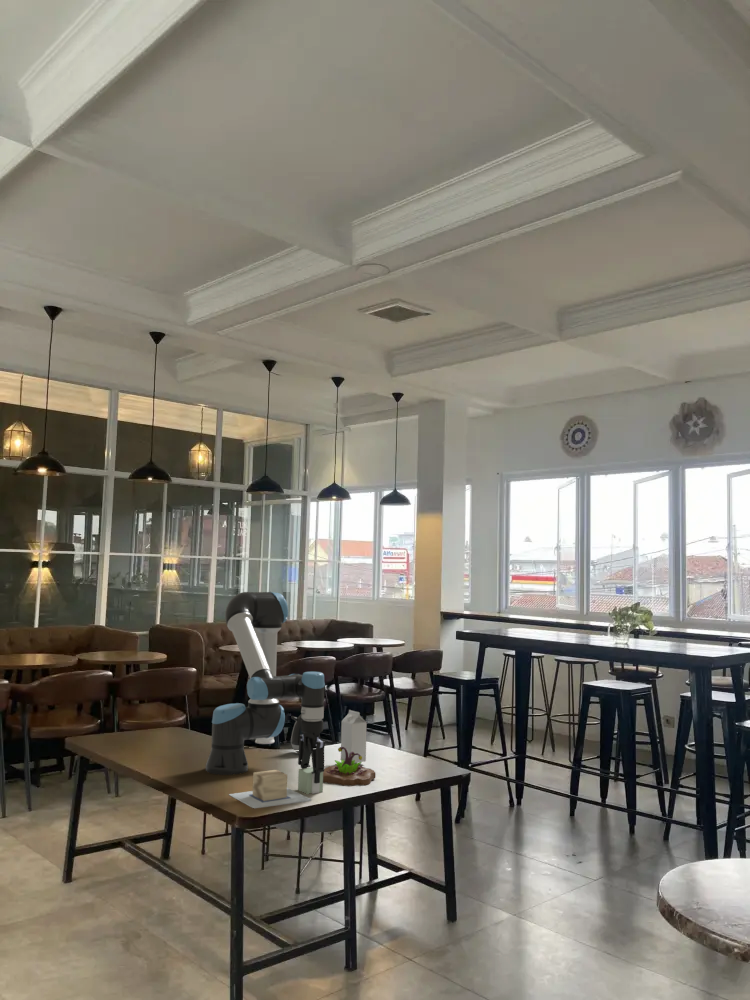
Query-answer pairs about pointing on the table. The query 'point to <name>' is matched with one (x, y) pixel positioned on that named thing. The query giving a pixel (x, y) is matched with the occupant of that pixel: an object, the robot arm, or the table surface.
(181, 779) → the table surface
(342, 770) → the plant
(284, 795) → the maple block
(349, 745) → the milk carton
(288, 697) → the robot arm
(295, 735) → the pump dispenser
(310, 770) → the sage block
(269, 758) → the table surface
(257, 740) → the jar
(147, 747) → the table surface
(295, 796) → the blueprint mat
